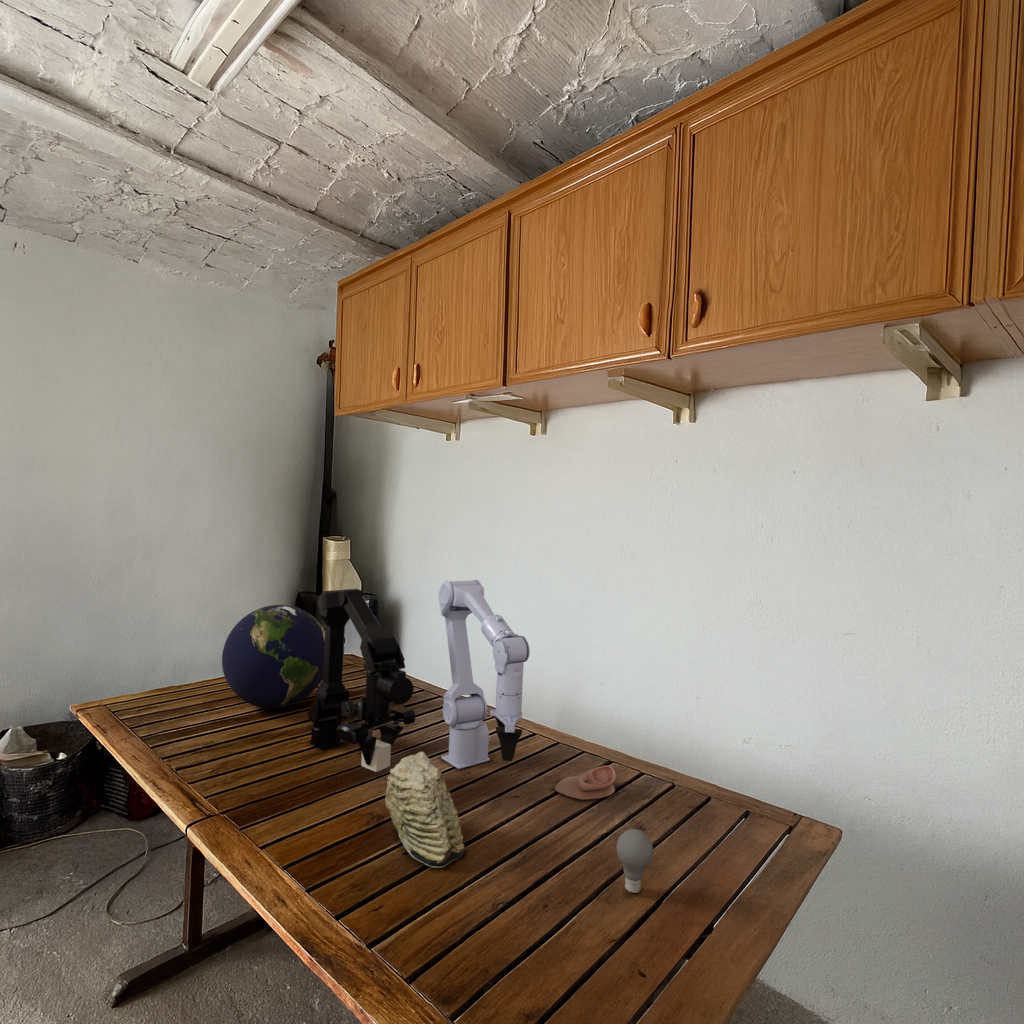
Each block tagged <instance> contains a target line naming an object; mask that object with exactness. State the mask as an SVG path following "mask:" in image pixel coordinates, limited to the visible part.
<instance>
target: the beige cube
mask: <svg viewBox="0 0 1024 1024" xmlns="http://www.w3.org/2000/svg"><path fill="white" fill-rule="evenodd" d="M391 751H392V747H391V744H388V743H385V742H383V741H381V739H377V740H376V745H375V749H374V754H373V758H372V762H371V765H366V763H365V760H364V757H363V754H362V753H361V762H360V764H361V765H360V767H363V768H365V769H367V770H369V771H372V772H375V773H378V772H380V771H383V770H384V769H387V768H390V767H391V754H392V753H391Z"/></svg>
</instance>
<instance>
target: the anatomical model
mask: <svg viewBox="0 0 1024 1024" xmlns="http://www.w3.org/2000/svg"><path fill="white" fill-rule="evenodd" d="M616 778H617V775H616V772H615V769H614V768H613V767H612V766H611V765H601V766H597V767H594V768H592V769H589V770H587V771H585V772H583V773H580V774H578V775H572V776H567V777H564V778H562V780H560V781H559V782H557V784H556V785H555V786H554V790H555V791H556V792H557V793H559V794H561V795H563V796H567V797H569V798H573V799H576V800H596V799H603V798H606V797H609V796H611V795H613V794H614V793H615V791H616V788H615V785H614V783H615V782H616Z"/></svg>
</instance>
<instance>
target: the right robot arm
mask: <svg viewBox="0 0 1024 1024" xmlns="http://www.w3.org/2000/svg"><path fill="white" fill-rule="evenodd" d="M438 603H439V610H440V615H441V617H444V621H445V629H446V638H447V647H448V655H449V664H450V673H451V681H452V685H451V686H450V687H449V688H448V689H447V691H446V692H444V694H443V697H442V698H443V706H442V716H443V719H444V721H445V723H446V724H447V726H448V727H449V735H448V736H449V737H448V753H447V754H444V755H441V756H440V759H442V760H443V761H445V762H446V763H448V764H449V765H451V766H452V767H454V768H456V769H457V770H462V769H466V768H469V767H473V766H475V765H478V764H483V763H486V762H490V761H491V758H490V757H489V744H490V731H489V728H488V725H487V723H485V722H484V720H485V719H486V718H487V715H488V710H489V709H488V703H487V701H486V699H485V695H484V690H483V688H482V687H480V686H479V685H478V684H476V683H474V677H473V668H472V662H471V661H472V660H471V654H470V652H471V651H470V644H469V636H468V630H467V619H468V616H469V615H471V614H473V615H474V617H475V618H477V620H478V621H479V622H480V623H481V626H480V630H481V633H482V634H483V636H484V637H485V638H486V641H488V642H489V644H490V645H491V647H492V657H493V661H494V668H495V671H496V691H495V709H490V710H489V715H490V716H491V717H494V718H495V721H496V723H497V724H496V725H497V726H495V733H496V736H497V737H498V741H499V744H500V753H501V759H502V762H513V760H514V757H515V753H516V748H517V745H518V742H519V740H520V738H521V737H522V734H523V728H516V726H517V723H518V722H519V721H520V719H521V718H522V717H523V711H522V710H523V709H522V707H523V706H522V705H523V704H522V703H523V687H524V663H526V662H527V661H528V660H529V658H530V651H531V649H530V644H529V642H528V639H527V637H525V636H524V635H519V634H518V633H515V632H514V631H513V629H512V628H511V627H510V625H509V624H508V622H507V621H506V620H505V619H504V617H503V616H502V615H500V614H495V613H494V611H493V610H492V608H491V607H490V605H489V603H488V601H487V600H486V598H485V588H484V586H483V585H482V583H481V581H480V580H478V579H472V580H451V581H449V580H444V581H443V582H442V583H441V585H440V587H439V590H438ZM461 696H462V697H461ZM458 697H459V698H458Z"/></svg>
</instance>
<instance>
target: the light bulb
mask: <svg viewBox="0 0 1024 1024" xmlns="http://www.w3.org/2000/svg"><path fill="white" fill-rule="evenodd" d="M615 849H616V854H617V857H618V859H619V861H620V863H621V865H622V867H623V873H624V874H623V875H624V876H625V878H624V888H625V890H627V891H628V892H630V893H634V894H635V893H639V892H640V891H641V889H642V887H641V886H642V879H643V877H644V875H645V871H646V868H647V867H648V866H649V864H650V863H651V861H652V859H653V855H654V847H653V843H652V841H651V838H649V836H648V835H647V834H646V833H645V832H643V831H642V830H641V829H636V828H629V829H627V830H625V831H623V832H622V833H621V834H620V835H619V837H618V839H617V841H616V847H615Z"/></svg>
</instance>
